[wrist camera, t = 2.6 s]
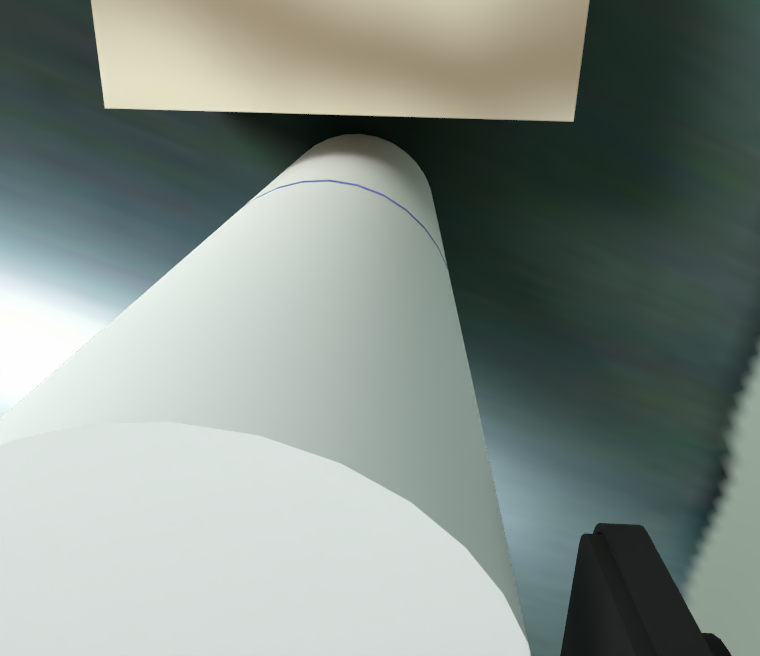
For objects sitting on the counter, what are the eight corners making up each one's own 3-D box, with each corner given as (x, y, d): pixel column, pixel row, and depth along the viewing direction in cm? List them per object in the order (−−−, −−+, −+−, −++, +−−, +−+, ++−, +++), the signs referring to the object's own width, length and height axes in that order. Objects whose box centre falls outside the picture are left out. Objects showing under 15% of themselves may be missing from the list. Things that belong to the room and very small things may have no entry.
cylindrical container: (461, 242, 30) (647, 815, 7) (331, 311, 32) (137, 969, 9) (385, 102, 28) (295, 273, 5) (250, 184, 30) (-303, 611, 6)
